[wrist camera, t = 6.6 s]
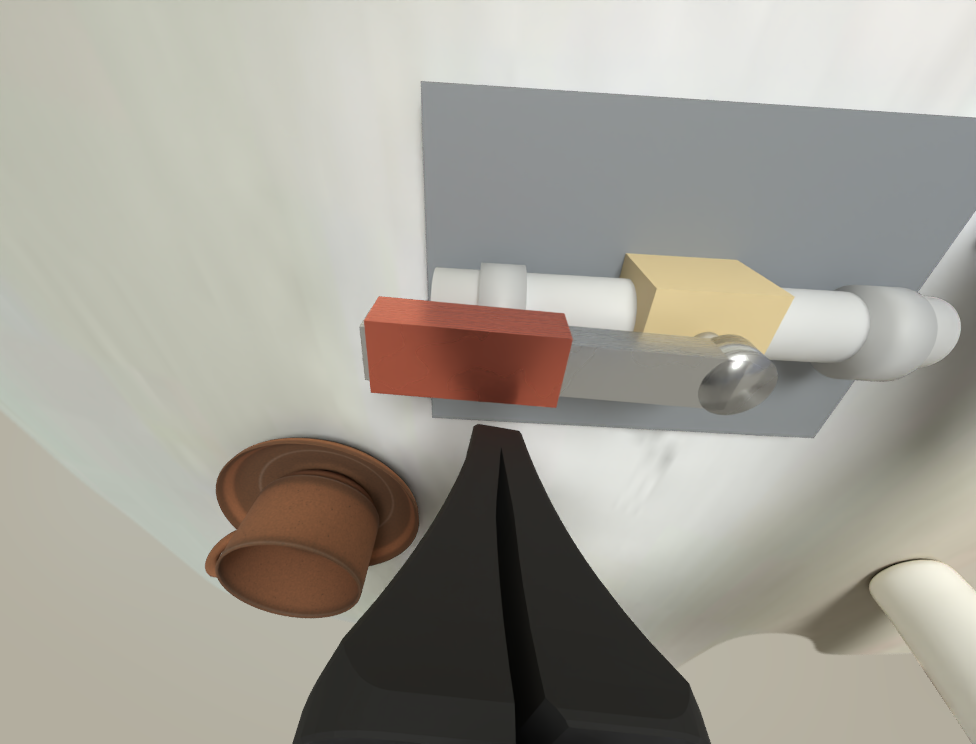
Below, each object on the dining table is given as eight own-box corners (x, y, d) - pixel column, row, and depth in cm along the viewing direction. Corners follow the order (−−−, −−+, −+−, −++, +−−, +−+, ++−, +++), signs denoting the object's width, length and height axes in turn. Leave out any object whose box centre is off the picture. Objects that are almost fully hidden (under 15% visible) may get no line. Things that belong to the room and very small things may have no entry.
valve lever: (766, 331, 12) (799, 359, 11) (732, 393, 13) (757, 424, 12) (372, 295, 12) (356, 319, 10) (377, 362, 13) (363, 392, 12)
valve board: (1005, 120, 13) (1257, 127, 9) (801, 425, 21) (882, 509, 17) (425, 82, 13) (389, 70, 9) (434, 405, 21) (417, 485, 17)
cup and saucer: (329, 559, 30) (294, 652, 25) (193, 465, 24) (112, 560, 19) (459, 510, 26) (449, 607, 21) (334, 387, 21) (281, 478, 16)
